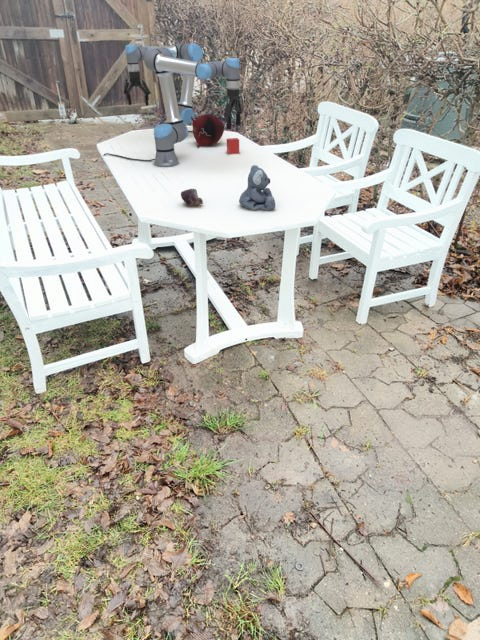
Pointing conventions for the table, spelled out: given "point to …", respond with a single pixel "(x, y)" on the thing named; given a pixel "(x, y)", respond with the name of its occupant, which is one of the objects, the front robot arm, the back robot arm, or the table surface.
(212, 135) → the dark red round lump
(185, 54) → the back robot arm
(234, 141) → the brick
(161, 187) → the table surface
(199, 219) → the table surface
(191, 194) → the rock
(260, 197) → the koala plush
